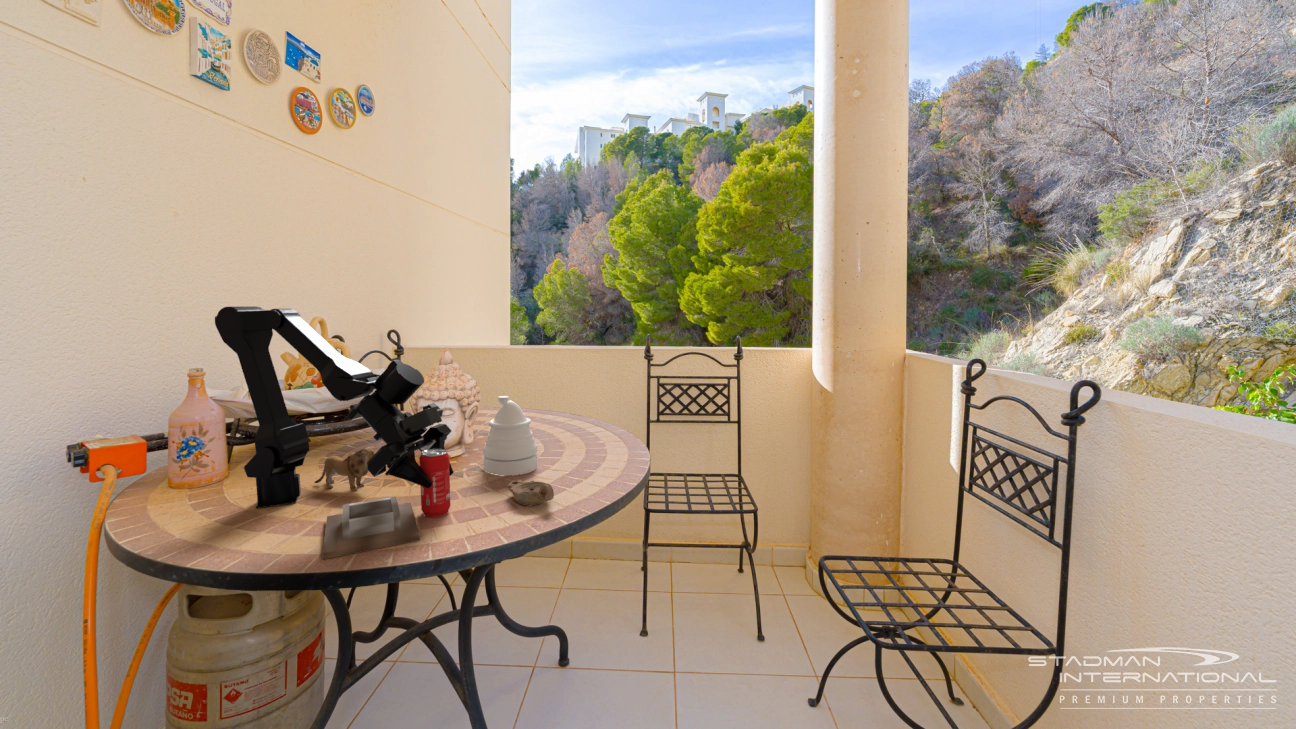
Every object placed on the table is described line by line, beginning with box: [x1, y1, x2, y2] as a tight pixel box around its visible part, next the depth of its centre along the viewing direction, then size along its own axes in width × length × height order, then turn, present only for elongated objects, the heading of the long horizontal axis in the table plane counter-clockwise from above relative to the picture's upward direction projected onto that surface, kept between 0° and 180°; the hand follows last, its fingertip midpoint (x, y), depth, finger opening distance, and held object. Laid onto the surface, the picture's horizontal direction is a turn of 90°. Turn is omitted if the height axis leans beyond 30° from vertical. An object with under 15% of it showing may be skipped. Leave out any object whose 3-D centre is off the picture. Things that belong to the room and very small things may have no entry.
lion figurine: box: [314, 447, 376, 493], centre depth 111 cm, size 15×5×9 cm, turn 84°
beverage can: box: [419, 448, 452, 518], centre depth 98 cm, size 5×5×12 cm
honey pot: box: [483, 395, 539, 476], centre depth 125 cm, size 13×13×18 cm
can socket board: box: [322, 496, 421, 560], centre depth 90 cm, size 14×16×4 cm
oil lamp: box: [506, 479, 555, 506], centre depth 104 cm, size 13×8×5 cm, turn 46°
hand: (441, 480), depth 97 cm, fingers open, 7 cm apart
